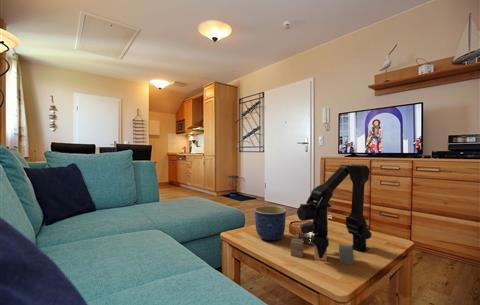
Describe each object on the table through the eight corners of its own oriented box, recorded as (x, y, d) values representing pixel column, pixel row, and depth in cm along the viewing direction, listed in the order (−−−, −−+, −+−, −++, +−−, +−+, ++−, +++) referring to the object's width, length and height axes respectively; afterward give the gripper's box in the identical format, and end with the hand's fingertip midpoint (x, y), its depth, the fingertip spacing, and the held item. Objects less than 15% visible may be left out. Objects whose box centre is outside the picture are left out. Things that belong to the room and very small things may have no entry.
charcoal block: (338, 257, 99) (338, 243, 99) (351, 259, 98) (351, 245, 98) (339, 262, 95) (339, 248, 95) (353, 264, 93) (353, 250, 93)
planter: (248, 236, 125) (248, 208, 125) (271, 229, 135) (271, 204, 134) (268, 246, 111) (268, 215, 111) (293, 239, 120) (292, 210, 120)
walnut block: (292, 251, 106) (292, 238, 106) (303, 252, 104) (303, 239, 104) (290, 255, 101) (290, 242, 101) (302, 257, 100) (302, 243, 100)
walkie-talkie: (296, 233, 129) (292, 248, 110) (296, 226, 129) (292, 239, 110) (312, 235, 127) (311, 250, 108) (312, 227, 127) (311, 241, 108)
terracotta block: (314, 254, 103) (314, 241, 103) (326, 255, 101) (326, 242, 101) (314, 259, 98) (314, 245, 98) (326, 261, 96) (326, 246, 96)
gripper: (303, 211, 111) (303, 242, 111) (299, 222, 93) (299, 260, 94) (327, 212, 107) (327, 245, 107) (328, 225, 90) (328, 264, 90)
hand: (320, 253), depth 100 cm, fingers open, 9 cm apart
